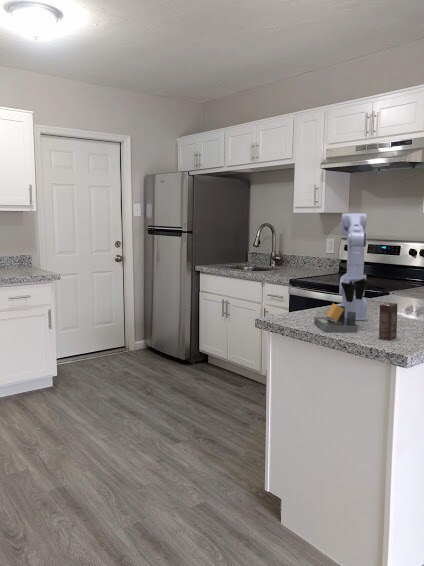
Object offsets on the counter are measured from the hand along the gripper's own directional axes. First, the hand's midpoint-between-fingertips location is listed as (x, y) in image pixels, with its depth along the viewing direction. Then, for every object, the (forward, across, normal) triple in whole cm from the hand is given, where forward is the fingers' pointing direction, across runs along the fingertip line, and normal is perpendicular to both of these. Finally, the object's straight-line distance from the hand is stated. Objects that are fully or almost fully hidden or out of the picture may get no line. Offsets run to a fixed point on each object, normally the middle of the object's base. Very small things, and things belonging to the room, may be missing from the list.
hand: (354, 300), depth 183 cm
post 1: (+8, -2, -6) cm, 10 cm away
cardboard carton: (+8, +6, -6) cm, 12 cm away
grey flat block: (+10, +5, -5) cm, 12 cm away
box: (+11, +6, +16) cm, 20 cm away
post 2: (+8, +6, +2) cm, 10 cm away
